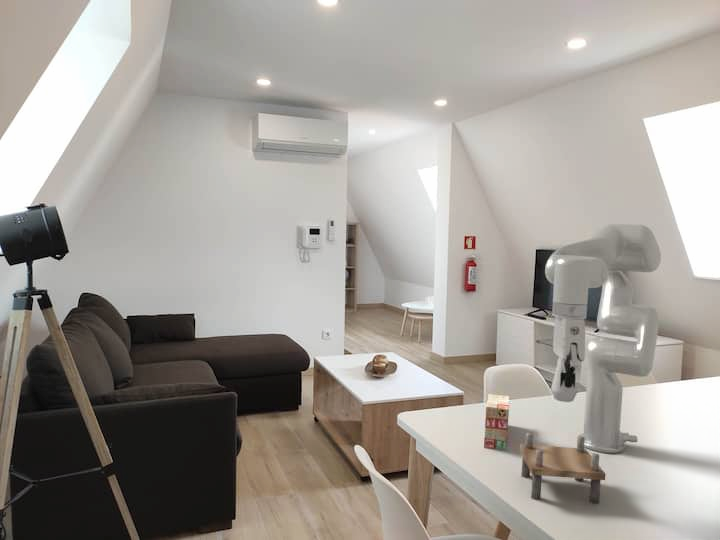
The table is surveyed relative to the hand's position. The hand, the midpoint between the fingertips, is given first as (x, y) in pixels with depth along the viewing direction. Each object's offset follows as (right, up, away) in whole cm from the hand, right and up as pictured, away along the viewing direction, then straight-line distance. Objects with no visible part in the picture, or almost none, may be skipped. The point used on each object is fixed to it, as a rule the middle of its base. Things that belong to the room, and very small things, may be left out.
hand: (564, 386), depth 126 cm
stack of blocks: (-7, -23, +34) cm, 42 cm away
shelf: (-1, -25, +2) cm, 25 cm away
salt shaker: (0, -3, 0) cm, 3 cm away
